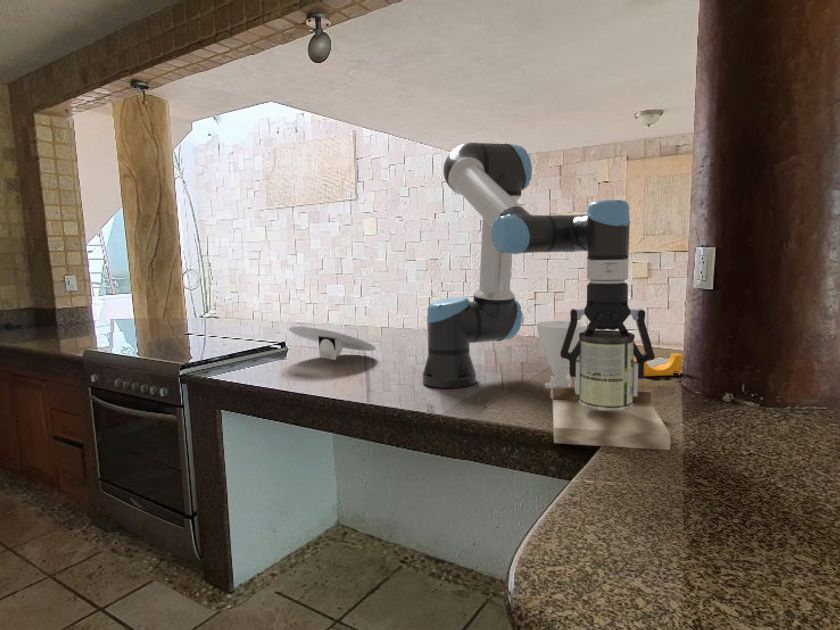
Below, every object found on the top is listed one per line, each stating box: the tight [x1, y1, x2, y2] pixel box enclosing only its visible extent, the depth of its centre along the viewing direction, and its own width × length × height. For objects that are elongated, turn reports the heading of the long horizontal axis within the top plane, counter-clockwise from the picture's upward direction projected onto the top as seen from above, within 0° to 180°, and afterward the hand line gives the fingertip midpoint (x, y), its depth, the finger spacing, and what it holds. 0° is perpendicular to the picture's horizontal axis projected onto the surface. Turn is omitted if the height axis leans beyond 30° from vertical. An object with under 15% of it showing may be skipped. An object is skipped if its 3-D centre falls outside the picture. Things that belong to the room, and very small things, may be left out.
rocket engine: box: [536, 320, 587, 400], centre depth 126 cm, size 12×12×18 cm
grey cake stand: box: [288, 326, 377, 361], centre depth 182 cm, size 28×19×27 cm
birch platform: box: [552, 386, 672, 451], centre depth 105 cm, size 20×20×6 cm
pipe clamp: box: [633, 353, 683, 377], centre depth 145 cm, size 12×4×6 cm, turn 89°
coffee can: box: [578, 329, 636, 411], centre depth 103 cm, size 10×10×14 cm
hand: (605, 393), depth 104 cm, fingers closed on coffee can, 10 cm apart
